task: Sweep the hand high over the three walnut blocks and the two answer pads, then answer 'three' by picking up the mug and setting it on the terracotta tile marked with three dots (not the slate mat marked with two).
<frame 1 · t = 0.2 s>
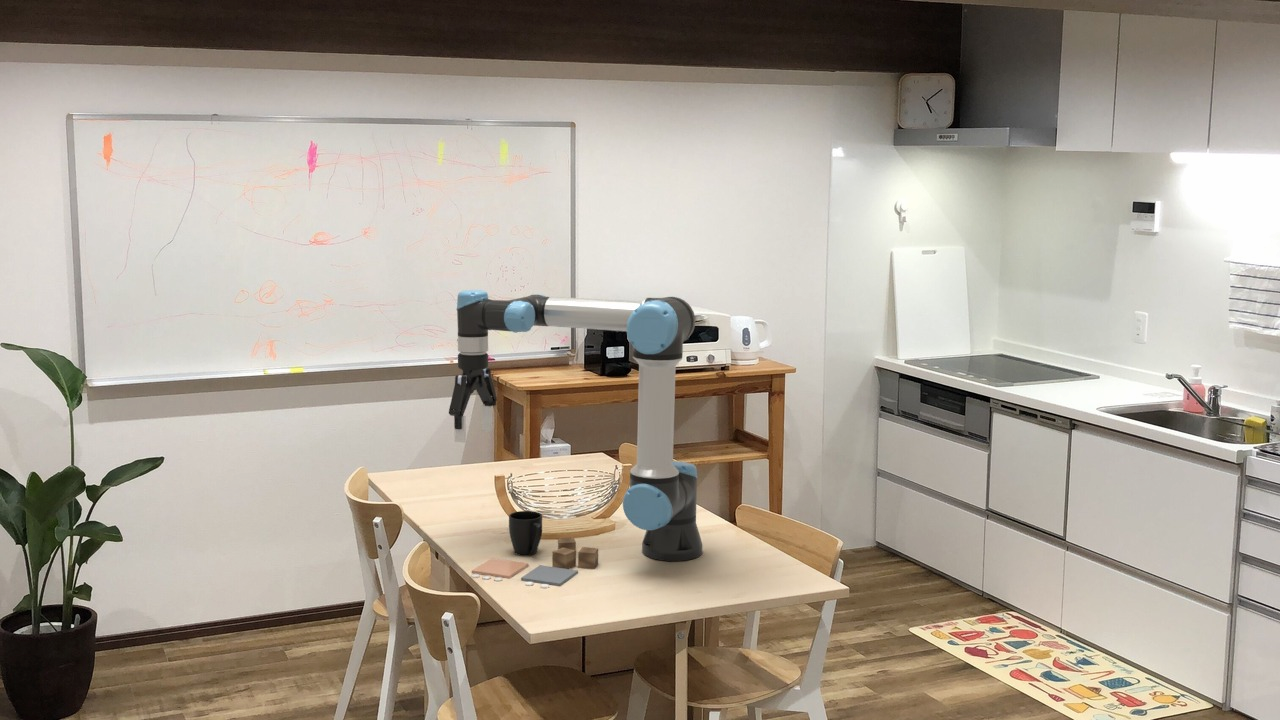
hand: (473, 436, 309), 28 cm above the table, fingers open, 13 cm apart
block a: (588, 566, 297), on the table
pad two: (549, 576, 289), on the table
block b: (564, 567, 296), on the table
block c: (566, 555, 305), on the table
mug: (528, 555, 305), on the table
pad three: (500, 569, 293), on the table
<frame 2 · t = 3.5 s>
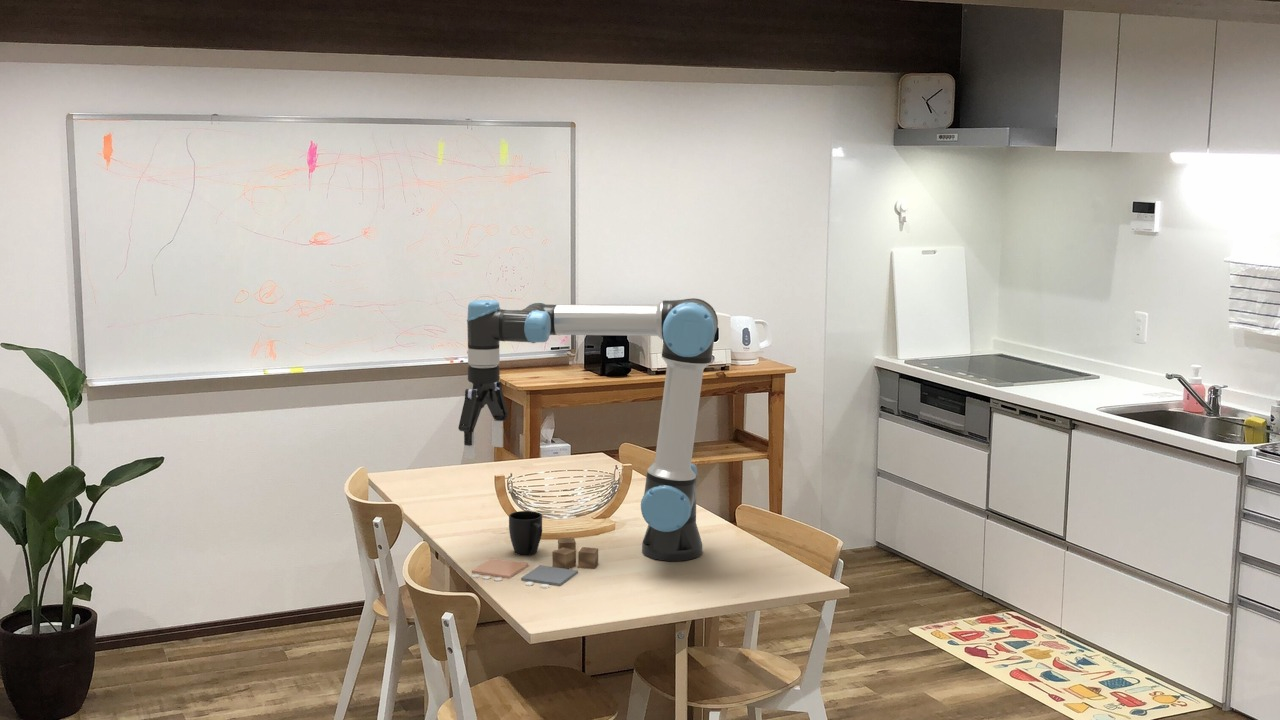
hand: (484, 452, 296), 27 cm above the table, fingers open, 13 cm apart
nothing on the table moved.
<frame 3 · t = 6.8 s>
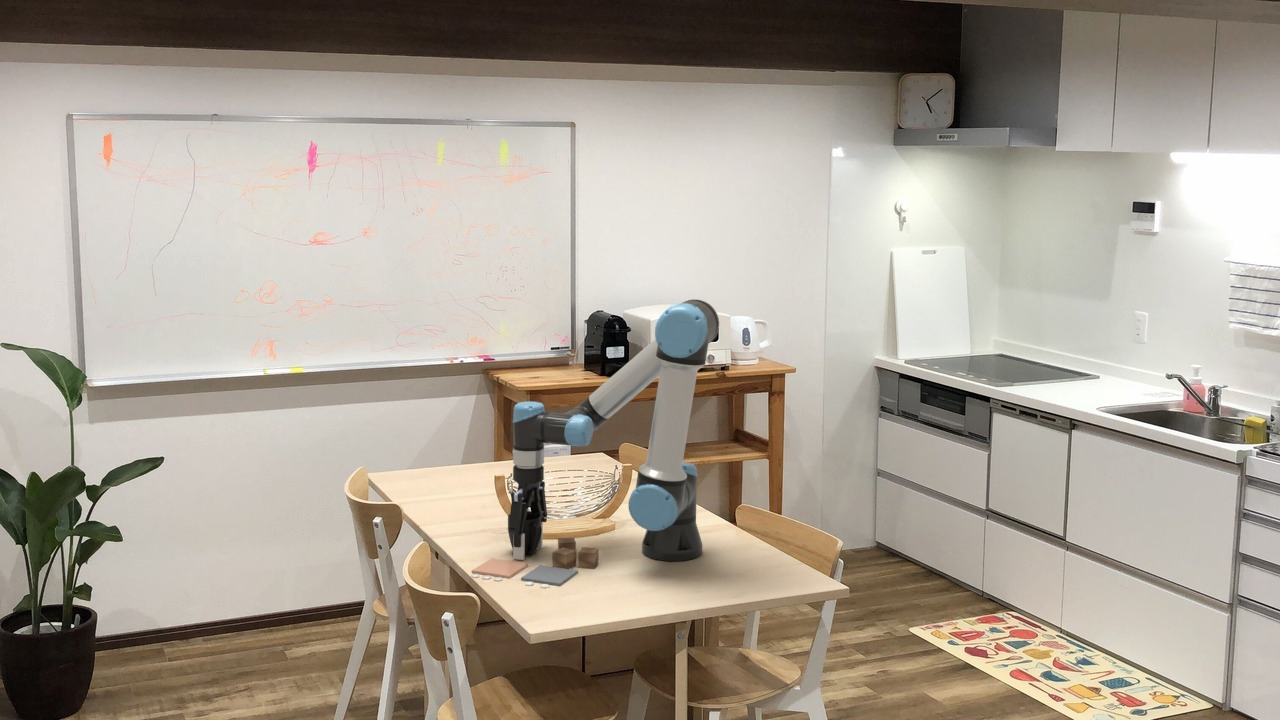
hand: (528, 553, 305), 0 cm above the table, fingers open, 9 cm apart
mug: (527, 555, 305), on the table, touching gripper
everything else where it was.
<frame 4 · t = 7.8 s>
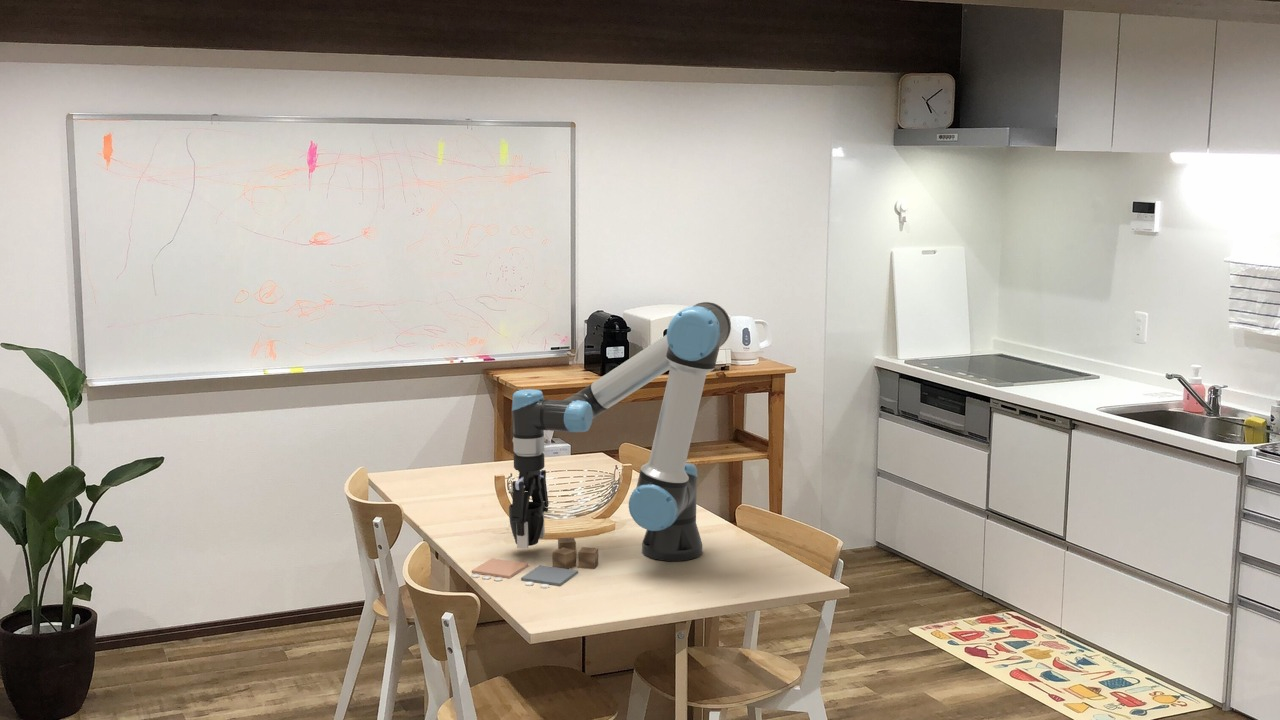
hand: (531, 542, 304), 3 cm above the table, fingers closed on mug, 8 cm apart
mug: (530, 545, 304), point 3 cm above the table, touching gripper
everything else where it was.
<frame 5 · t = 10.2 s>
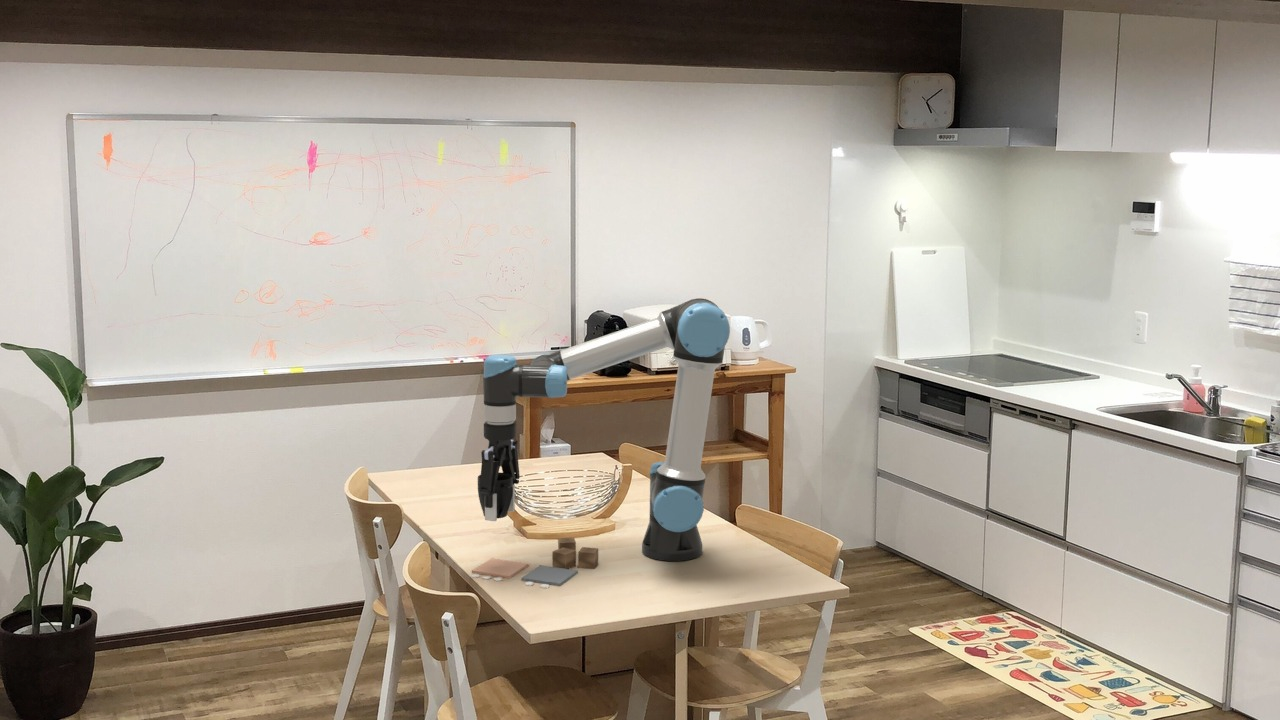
hand: (499, 515, 291), 13 cm above the table, fingers closed on mug, 8 cm apart
mug: (498, 518, 291), point 13 cm above the table, touching gripper
everything else where it was.
when the fingers open (2 cm above the table, at t = 12.9 s): mug drops 1 cm, resting on pad three.
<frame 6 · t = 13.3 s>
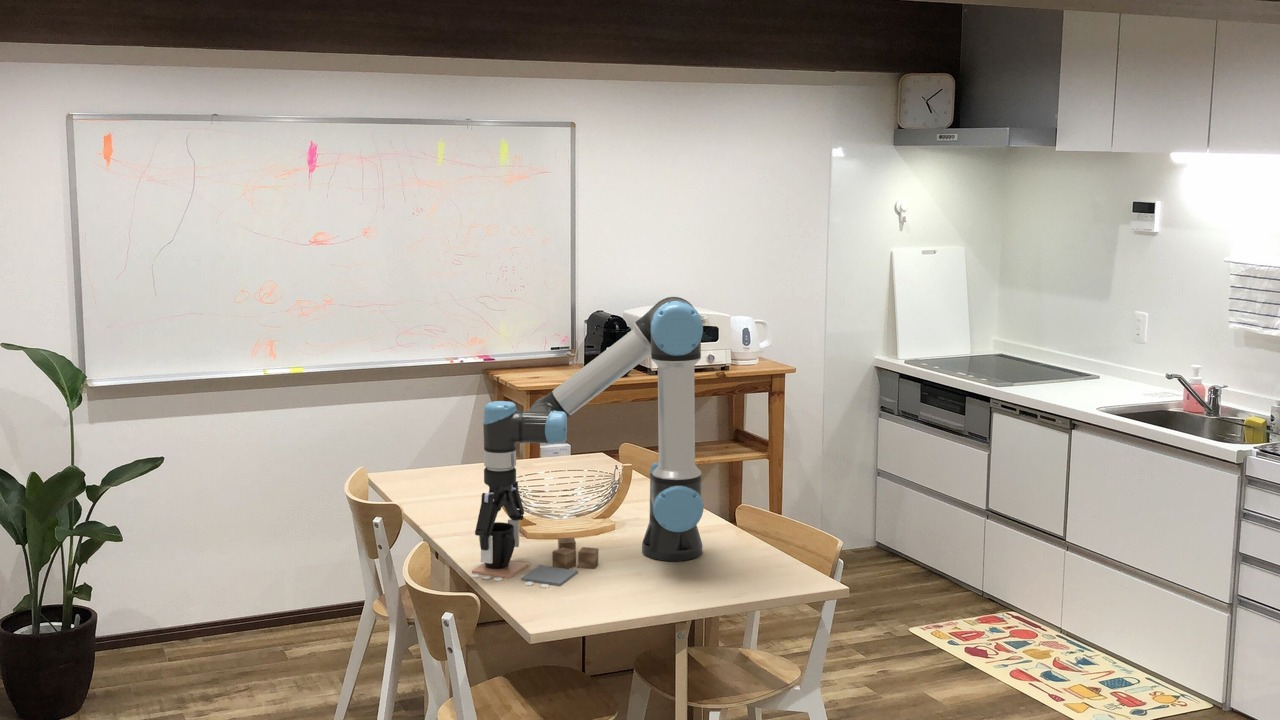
hand: (500, 554, 293), 4 cm above the table, fingers open, 13 cm apart
mug: (500, 568, 293), resting on pad three
everything else where it was.
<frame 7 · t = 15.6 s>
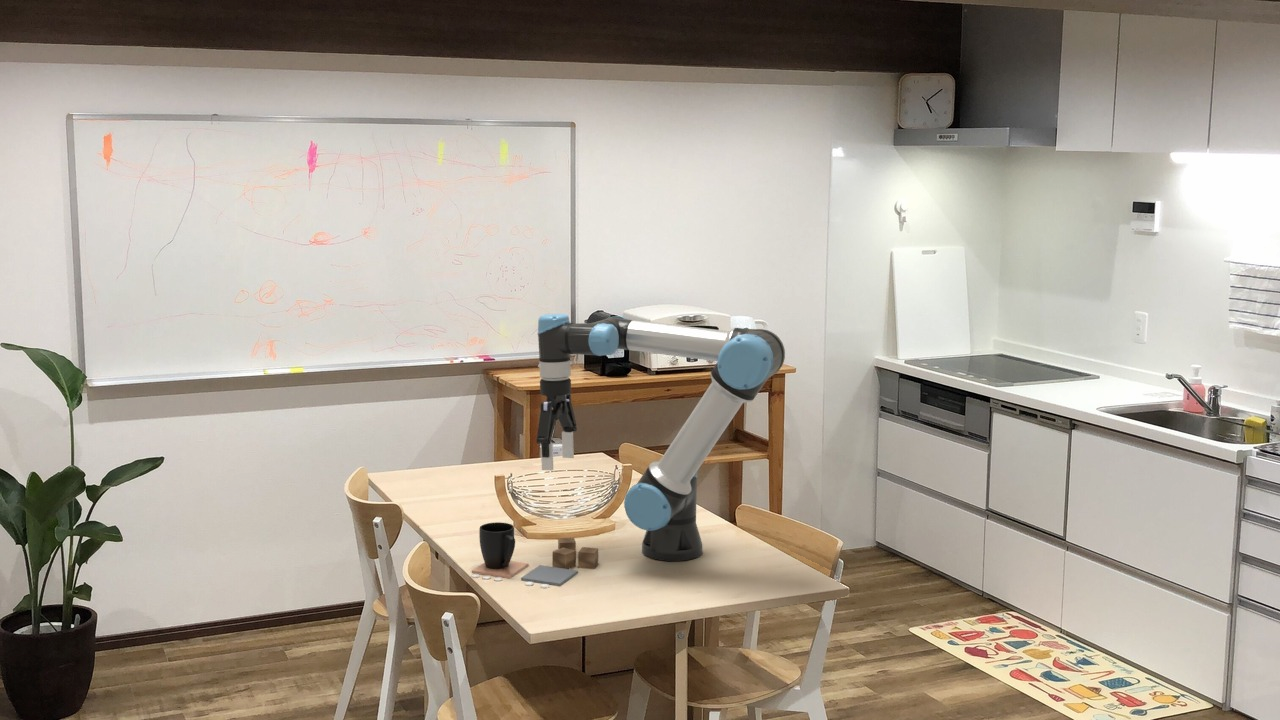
hand: (558, 463, 301), 23 cm above the table, fingers open, 13 cm apart
nothing on the table moved.
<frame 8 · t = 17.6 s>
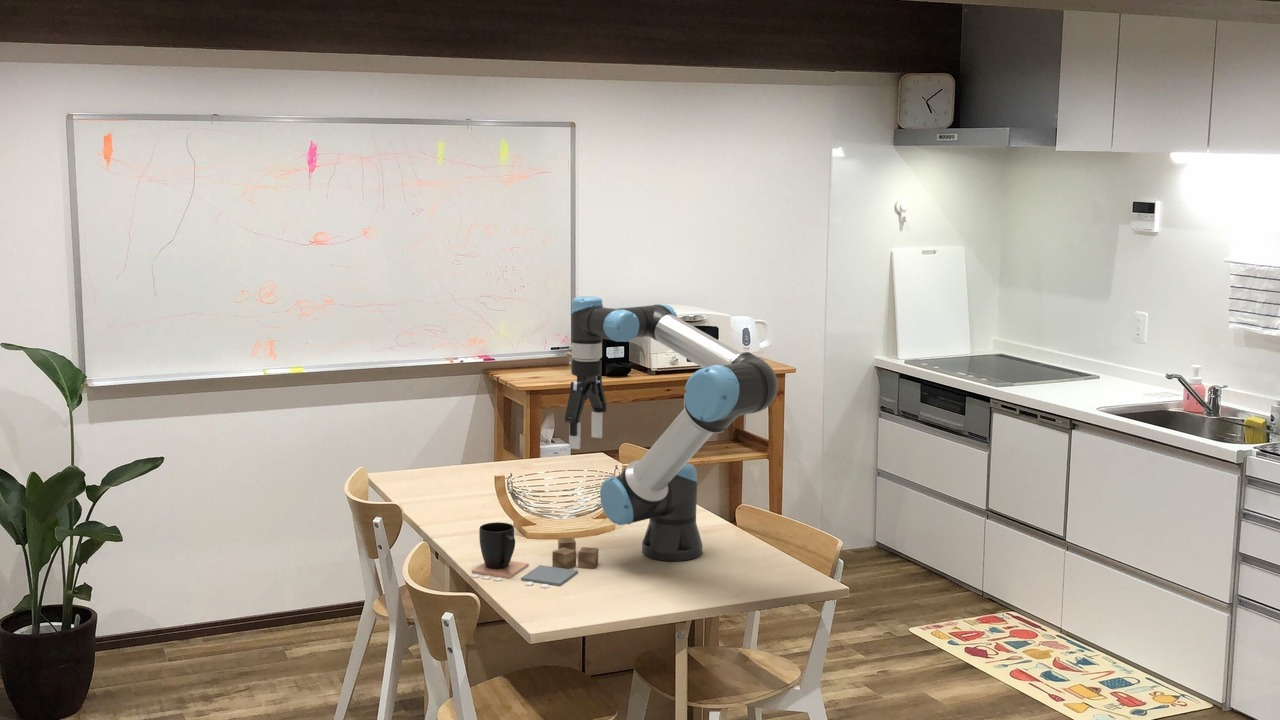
hand: (586, 442, 308), 27 cm above the table, fingers open, 13 cm apart
nothing on the table moved.
at the end: mug inside the target area on the pad three (0.7 cm from its centre), point 0.4 cm above the pad three's base; mug tilted 0°; the gripper is holding nothing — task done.
